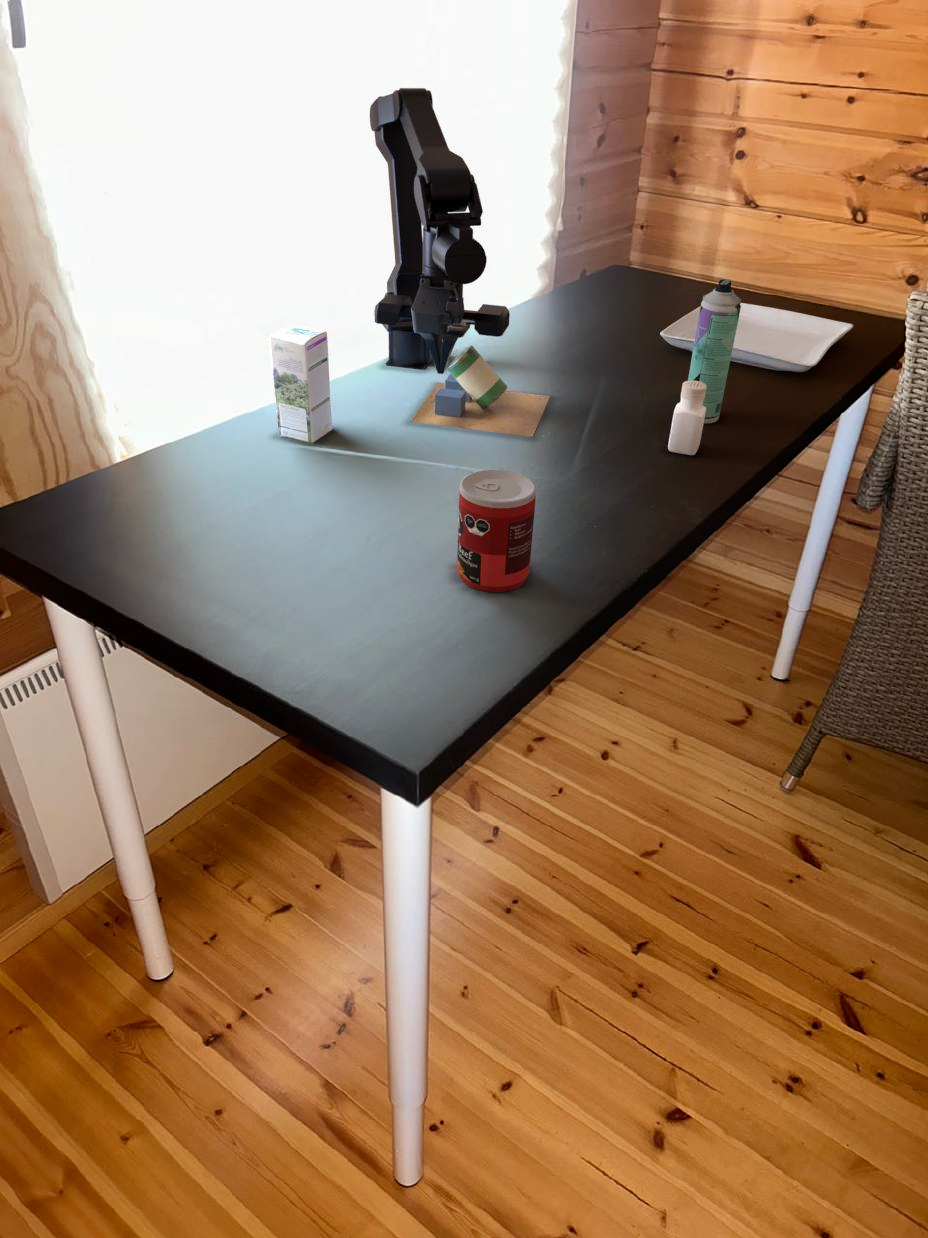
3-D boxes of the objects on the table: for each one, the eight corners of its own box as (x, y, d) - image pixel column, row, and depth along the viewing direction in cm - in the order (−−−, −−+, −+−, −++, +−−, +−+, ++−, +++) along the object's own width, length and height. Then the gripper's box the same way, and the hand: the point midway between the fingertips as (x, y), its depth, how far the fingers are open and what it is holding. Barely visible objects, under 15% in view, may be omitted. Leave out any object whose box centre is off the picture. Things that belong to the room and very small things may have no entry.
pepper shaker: (666, 452, 133) (677, 387, 127) (671, 441, 136) (682, 377, 130) (695, 457, 132) (707, 391, 126) (699, 446, 135) (711, 381, 129)
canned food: (454, 557, 107) (456, 469, 101) (523, 556, 108) (530, 468, 102) (459, 594, 101) (462, 502, 95) (533, 593, 102) (541, 502, 96)
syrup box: (334, 430, 135) (329, 329, 127) (311, 446, 130) (304, 341, 122) (299, 422, 137) (292, 322, 128) (276, 437, 132) (267, 334, 124)
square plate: (850, 342, 175) (856, 321, 172) (808, 386, 155) (814, 363, 153) (709, 314, 186) (713, 293, 184) (654, 352, 167) (657, 330, 165)
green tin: (442, 409, 141) (443, 349, 136) (450, 397, 145) (452, 338, 140) (502, 417, 140) (506, 356, 135) (508, 404, 144) (512, 345, 139)
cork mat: (410, 423, 138) (410, 421, 138) (437, 384, 151) (437, 382, 150) (532, 439, 135) (532, 436, 135) (550, 398, 148) (550, 395, 147)
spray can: (716, 410, 146) (742, 276, 134) (720, 424, 141) (748, 287, 130) (680, 407, 146) (703, 274, 135) (683, 422, 142) (707, 284, 130)
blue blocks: (434, 414, 140) (434, 394, 138) (449, 392, 147) (449, 373, 145) (460, 417, 139) (461, 398, 138) (474, 395, 147) (475, 376, 145)
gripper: (360, 272, 127) (363, 384, 136) (496, 286, 124) (491, 400, 133) (385, 252, 136) (387, 359, 145) (513, 264, 133) (506, 373, 142)
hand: (441, 372), depth 141 cm, fingers closed
